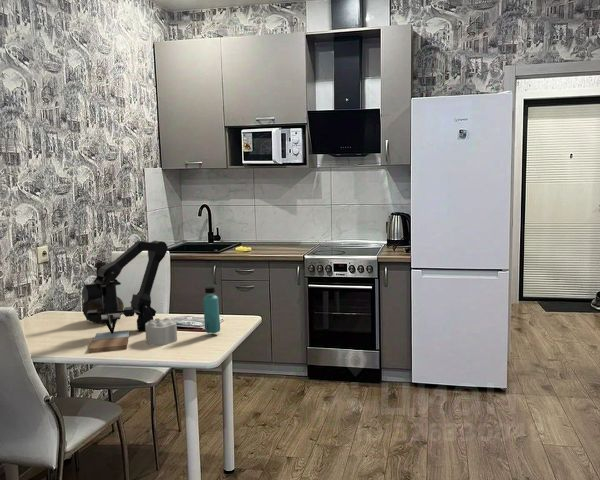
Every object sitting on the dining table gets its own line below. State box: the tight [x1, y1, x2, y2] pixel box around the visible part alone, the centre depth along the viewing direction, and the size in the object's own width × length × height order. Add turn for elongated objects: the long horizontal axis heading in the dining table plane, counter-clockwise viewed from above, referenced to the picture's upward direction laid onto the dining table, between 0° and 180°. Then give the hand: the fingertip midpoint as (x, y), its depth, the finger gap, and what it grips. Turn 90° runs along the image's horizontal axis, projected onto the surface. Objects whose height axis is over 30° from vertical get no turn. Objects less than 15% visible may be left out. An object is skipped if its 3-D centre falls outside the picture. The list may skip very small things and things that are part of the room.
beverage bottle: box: [202, 286, 221, 334], centre depth 238 cm, size 6×7×20 cm
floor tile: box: [93, 329, 130, 340], centre depth 239 cm, size 13×10×2 cm
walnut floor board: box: [88, 336, 129, 354], centre depth 228 cm, size 14×12×2 cm
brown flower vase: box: [82, 261, 125, 325], centre depth 267 cm, size 18×18×28 cm
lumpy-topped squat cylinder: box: [145, 317, 178, 347], centre depth 233 cm, size 10×13×9 cm
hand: (112, 333), depth 241 cm, fingers closed, pressing on floor tile
